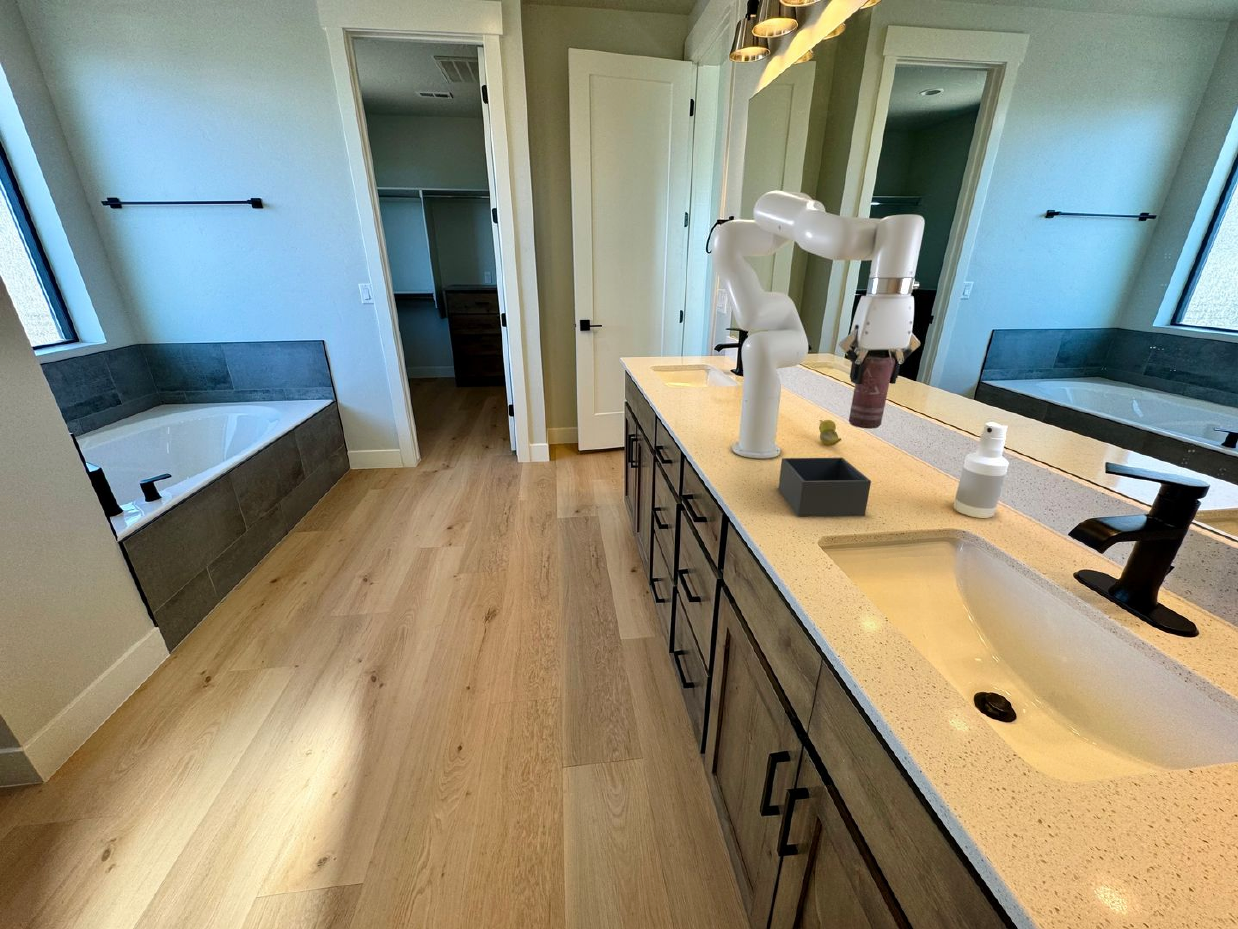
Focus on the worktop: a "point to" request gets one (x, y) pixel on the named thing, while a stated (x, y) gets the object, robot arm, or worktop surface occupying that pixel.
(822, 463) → the bin
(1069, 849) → the worktop surface
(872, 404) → the can
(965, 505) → the spray bottle
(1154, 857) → the worktop surface
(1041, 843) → the worktop surface
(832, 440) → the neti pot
